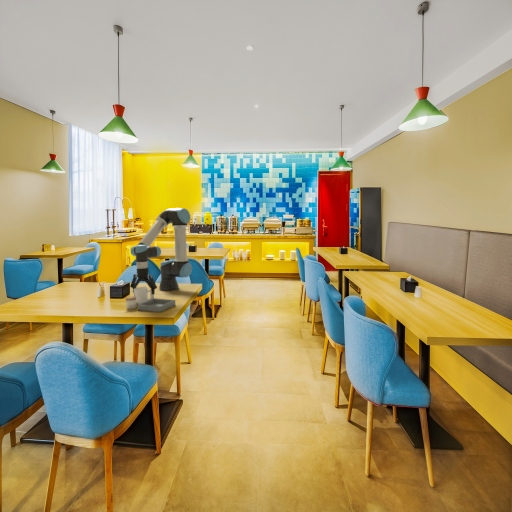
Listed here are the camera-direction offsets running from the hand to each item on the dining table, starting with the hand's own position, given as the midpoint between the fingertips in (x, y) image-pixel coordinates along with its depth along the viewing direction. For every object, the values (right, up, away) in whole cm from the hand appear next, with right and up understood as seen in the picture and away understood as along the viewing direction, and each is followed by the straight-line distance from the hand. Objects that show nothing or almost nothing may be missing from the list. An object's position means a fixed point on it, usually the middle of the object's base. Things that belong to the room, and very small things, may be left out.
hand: (144, 298), depth 219 cm
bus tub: (+13, -4, -12) cm, 18 cm away
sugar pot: (-4, -5, -12) cm, 13 cm away
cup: (0, -3, +1) cm, 3 cm away
